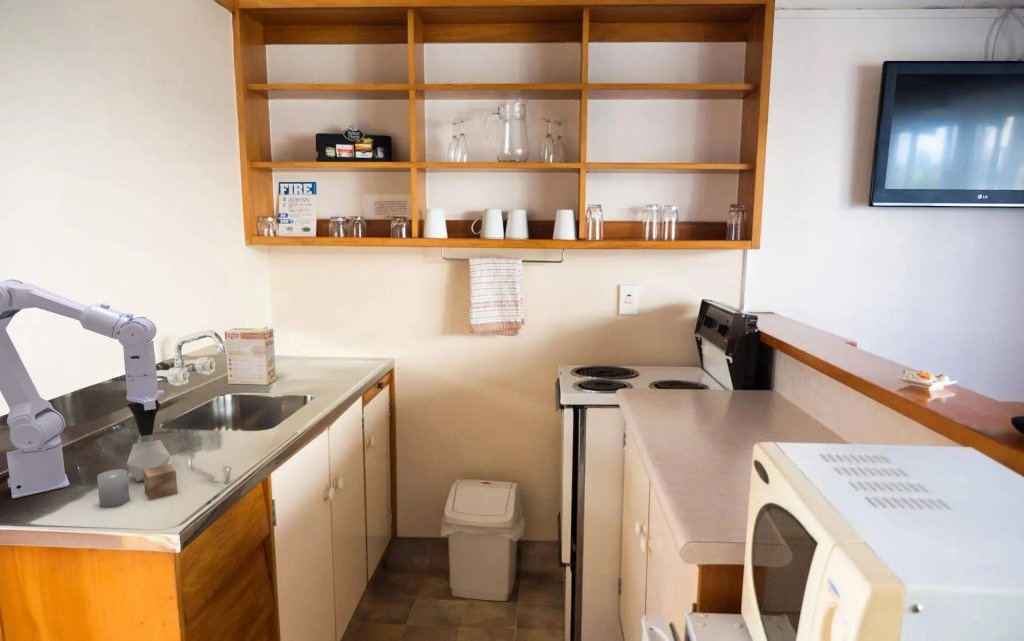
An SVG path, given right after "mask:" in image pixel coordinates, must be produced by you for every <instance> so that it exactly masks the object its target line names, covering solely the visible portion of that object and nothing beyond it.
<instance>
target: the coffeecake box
mask: <svg viewBox="0 0 1024 641" xmlns="http://www.w3.org/2000/svg"><path fill="white" fill-rule="evenodd" d="M274 338H275V336H274V329H273V328H254V327H253V328H249V327H248V328H243V327H240V328H239V327H236V328H234V327H233V328H230V329H227V330H224V339H225V340H224V341H225V354H226V355H225V356H226V358H225V359H226V370H227V371H226V372H227V384H228V385H259V386H268V385H270V384H272V383H274V382H277V374H276V373H277V371H276V356H275V355H276V352H275V339H274Z"/></svg>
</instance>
